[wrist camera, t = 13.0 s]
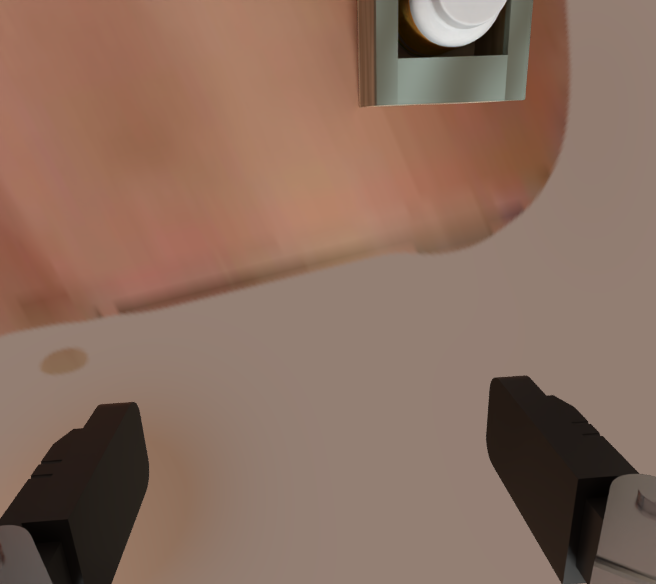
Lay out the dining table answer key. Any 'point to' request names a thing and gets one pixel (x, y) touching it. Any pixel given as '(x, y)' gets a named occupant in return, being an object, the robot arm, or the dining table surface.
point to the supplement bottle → (443, 24)
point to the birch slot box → (442, 61)
